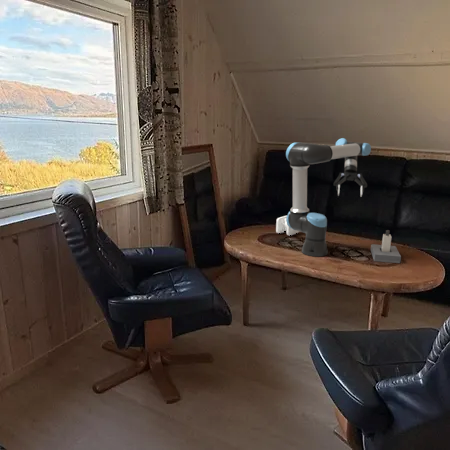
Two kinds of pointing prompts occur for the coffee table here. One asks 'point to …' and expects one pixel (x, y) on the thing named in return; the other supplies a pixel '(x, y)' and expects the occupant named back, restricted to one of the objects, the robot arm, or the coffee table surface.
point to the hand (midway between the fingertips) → (349, 195)
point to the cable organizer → (284, 226)
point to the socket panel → (385, 254)
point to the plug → (386, 242)
